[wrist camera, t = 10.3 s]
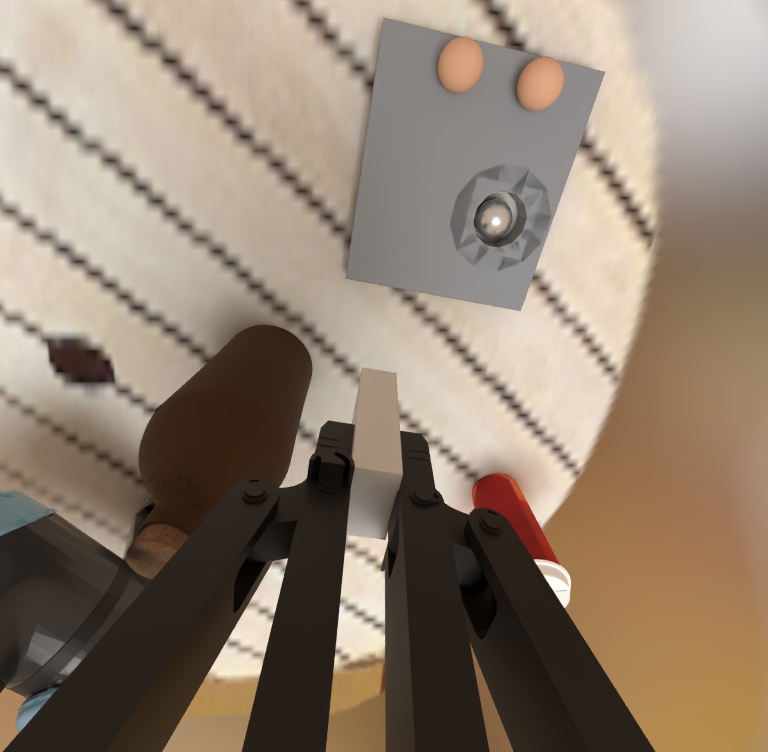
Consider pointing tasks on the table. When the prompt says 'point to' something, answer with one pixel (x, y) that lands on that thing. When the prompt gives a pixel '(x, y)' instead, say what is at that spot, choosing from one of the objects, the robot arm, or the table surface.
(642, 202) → the table surface
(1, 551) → the robot arm
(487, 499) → the coffee cup
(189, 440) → the olive oil
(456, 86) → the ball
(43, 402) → the table surface
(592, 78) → the plate
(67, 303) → the table surface
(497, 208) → the ball
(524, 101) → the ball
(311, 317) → the table surface
